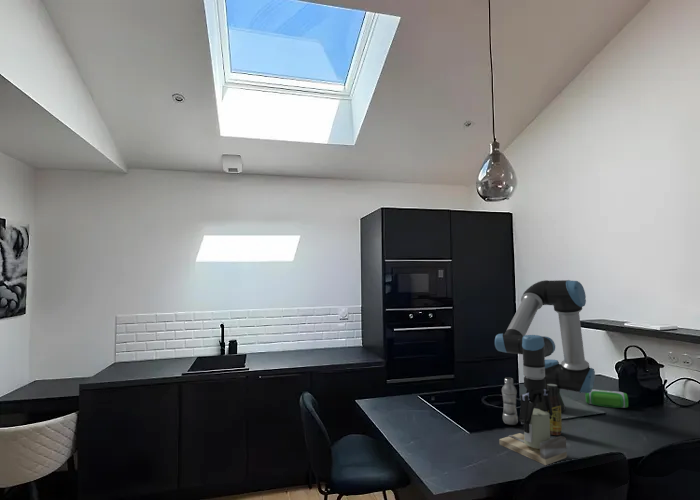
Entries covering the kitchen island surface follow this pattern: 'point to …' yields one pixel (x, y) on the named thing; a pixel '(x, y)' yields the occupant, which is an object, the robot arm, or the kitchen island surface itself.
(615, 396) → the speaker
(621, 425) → the kitchen island surface
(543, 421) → the can
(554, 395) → the sauce bottle
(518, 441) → the rail board
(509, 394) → the plastic bottle
